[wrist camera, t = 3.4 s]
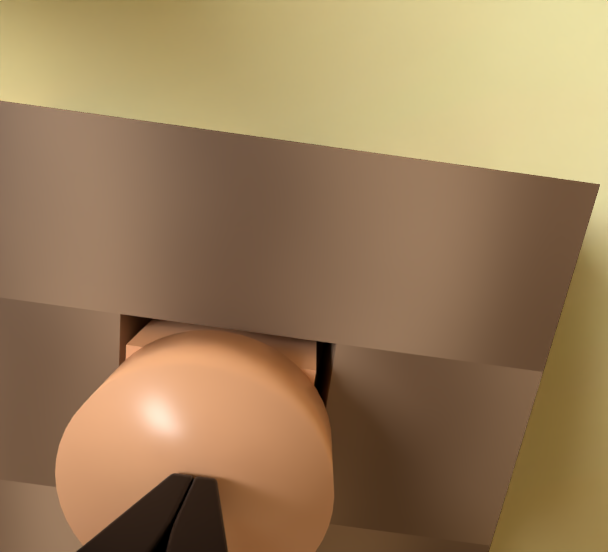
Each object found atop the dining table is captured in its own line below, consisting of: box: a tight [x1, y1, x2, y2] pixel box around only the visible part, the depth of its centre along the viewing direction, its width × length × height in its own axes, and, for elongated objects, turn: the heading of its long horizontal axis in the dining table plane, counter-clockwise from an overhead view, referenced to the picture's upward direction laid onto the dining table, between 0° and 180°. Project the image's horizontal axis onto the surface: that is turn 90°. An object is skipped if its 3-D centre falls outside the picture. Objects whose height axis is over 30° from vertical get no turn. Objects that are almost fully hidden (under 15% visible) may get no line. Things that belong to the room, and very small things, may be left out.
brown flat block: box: [0, 101, 600, 552], centre depth 14 cm, size 14×24×5 cm, turn 172°
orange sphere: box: [55, 319, 334, 552], centre depth 11 cm, size 5×5×5 cm
